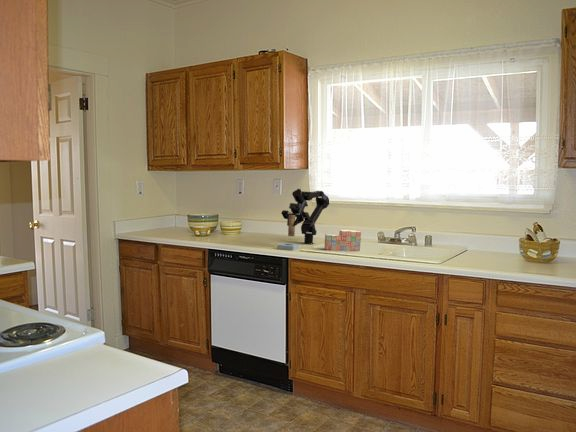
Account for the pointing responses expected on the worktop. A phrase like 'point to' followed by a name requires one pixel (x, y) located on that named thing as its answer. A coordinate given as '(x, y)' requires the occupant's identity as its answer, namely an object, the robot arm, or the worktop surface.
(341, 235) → the stack of blocks
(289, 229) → the dowel
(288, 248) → the bead block
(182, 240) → the worktop surface
